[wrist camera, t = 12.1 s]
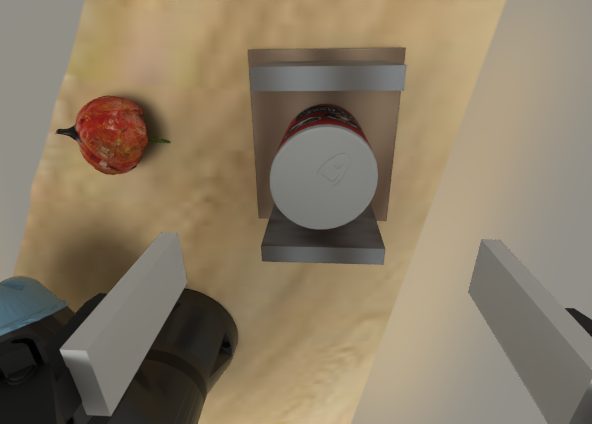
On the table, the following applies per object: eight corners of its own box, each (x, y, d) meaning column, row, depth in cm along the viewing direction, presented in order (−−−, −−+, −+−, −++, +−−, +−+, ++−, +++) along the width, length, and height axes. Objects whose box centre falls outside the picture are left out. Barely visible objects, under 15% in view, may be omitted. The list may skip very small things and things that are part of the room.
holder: (261, 212, 40) (239, 270, 29) (250, 49, 32) (217, 50, 22) (383, 214, 39) (406, 275, 28) (402, 47, 31) (441, 47, 21)
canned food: (376, 121, 33) (399, 152, 23) (340, 191, 36) (347, 245, 26) (302, 88, 32) (293, 106, 22) (273, 164, 35) (253, 209, 26)
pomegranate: (172, 97, 37) (61, 66, 30) (190, 135, 33) (65, 108, 26) (153, 152, 41) (50, 135, 34) (167, 193, 36) (52, 182, 30)
